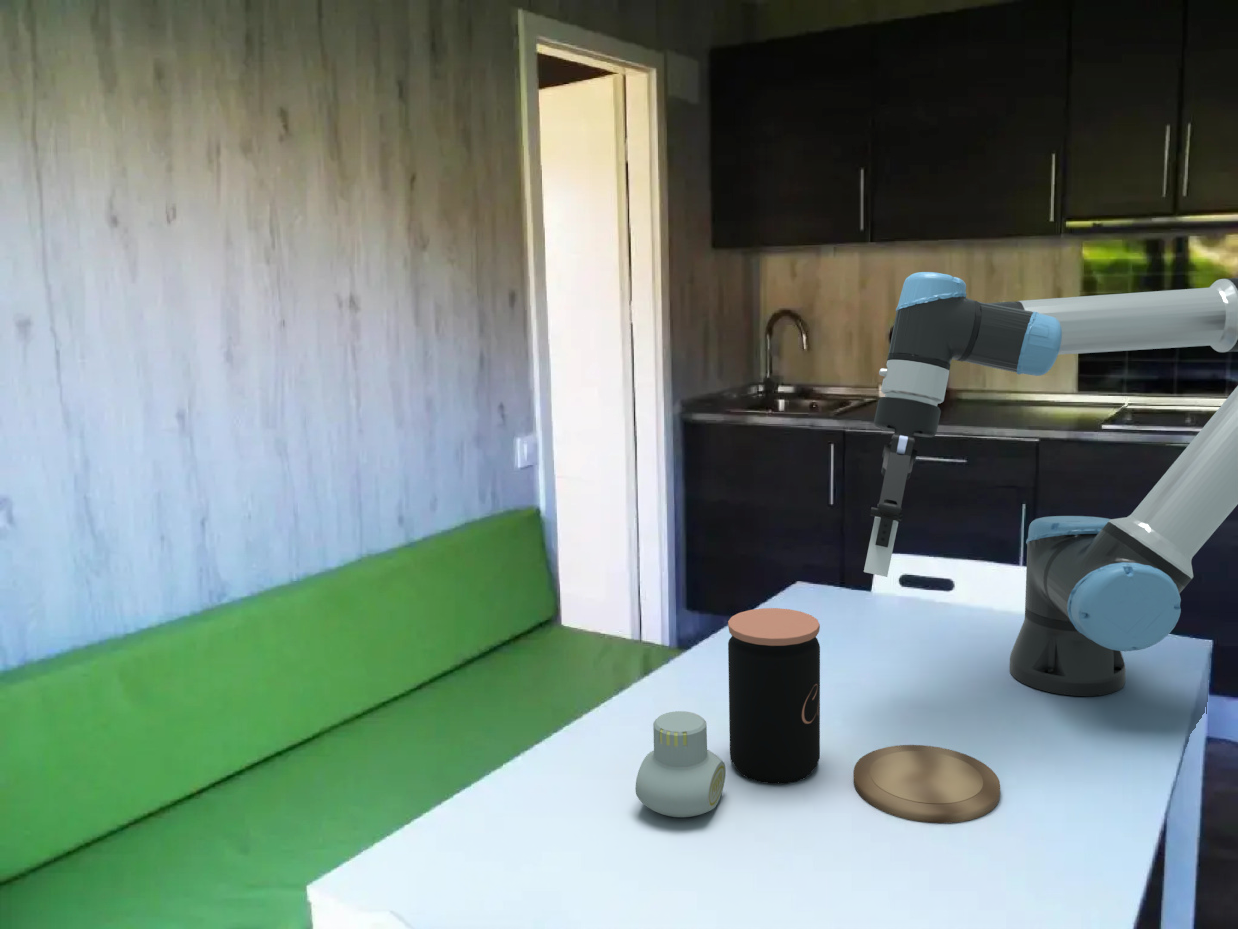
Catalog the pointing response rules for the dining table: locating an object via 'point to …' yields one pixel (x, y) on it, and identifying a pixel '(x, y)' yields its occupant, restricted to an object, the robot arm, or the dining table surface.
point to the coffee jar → (774, 694)
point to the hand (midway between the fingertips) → (875, 571)
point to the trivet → (926, 783)
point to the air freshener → (680, 768)
